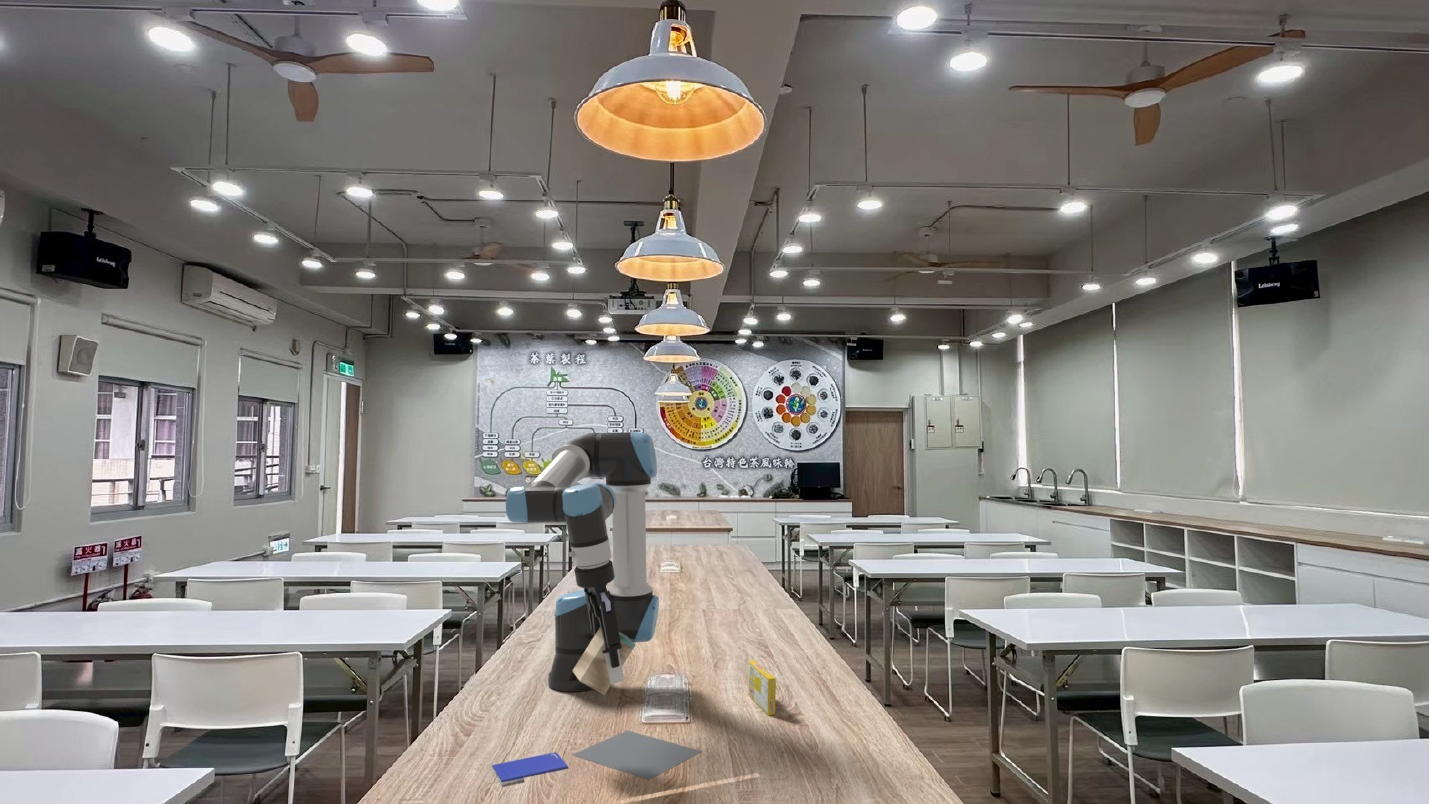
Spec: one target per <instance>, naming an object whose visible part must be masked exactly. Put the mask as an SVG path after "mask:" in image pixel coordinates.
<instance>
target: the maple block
mask: <svg viewBox="0 0 1429 804" xmlns="http://www.w3.org/2000/svg"><path fill="white" fill-rule="evenodd" d="M619 636H620V642H621V645H622V646H621V647H622V648H621V649H619V653H620V659H621V665H622V667H623V666H624V665H625V664H626V661H627V659H628V658H629V657H630V655H631V653H632V651H634V648H635V647H636V643H634V642H632V641H631V640H630V639H629V638H628V637H627V636H626V635H624V634H622V633H621V632H619ZM603 650H605V644H604V640H603V636H602V632H601V628H599V630H598V631H597V633H596V634H595V636H594V637H593V639H592V641H591V642H590V644H589V645H588V647H587V648H586V650H585V652H584V653H583V655H582V656H581V658H580V659H579V661H578V663H577V664H576V666H575V667H574V669H573V673H574V674H575V675H576V677H577V678H578V680H579V681H580V682H582V683H584V684H586V685H587V686H589V687H591V688H593V689H592V690H595V691H596V692H599V693H600V694H602V695H603V696H605V695H606V693H607V692H608V691H609V689H610V688H611V685H612V684H610V682H609V676H608V670H607V664H606V658H605V653H604V654H603V652H602V651H603Z"/></svg>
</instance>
